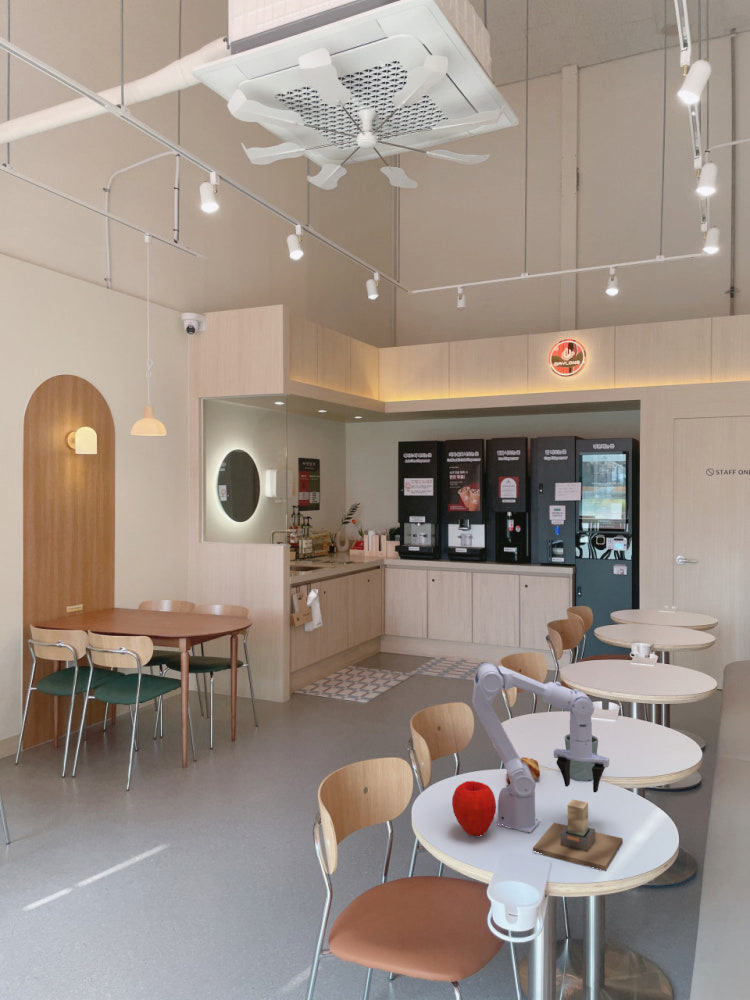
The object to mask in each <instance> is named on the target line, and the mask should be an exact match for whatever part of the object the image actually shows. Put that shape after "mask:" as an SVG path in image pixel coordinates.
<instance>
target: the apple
mask: <svg viewBox="0 0 750 1000" xmlns="http://www.w3.org/2000/svg"><path fill="white" fill-rule="evenodd" d="M451 800H452V801H451V805H452V806H451V807H452V809H453V810H452V811H453V814H454V816H455V819H456V821H457V822H458V824H459V826H460V827H461V828H462V830H463V831H464V832H465V833H466V834H467V835H469V836H471V835H473V837H478V836H479V837H481V836H480V835H482V836H484V835H485V834H486V833H487V832H488V831H489V828H490V826H491V825H492V823H493V822H494V821H493V820H494V817H495V815H496V811H497V805H496V797H495V794H494V792H493V790H492V789H491V788H490V787H489V785H487V784H485V783H483V782H479V781H473V780H470V781H469V780H468V781H465V782H462V783H460V784H459V785H457V787H456V788H455V790H454V792H453V795H452V799H451Z"/></svg>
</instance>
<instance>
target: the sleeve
mask: <svg viewBox="0 0 750 1000" xmlns="http://www.w3.org/2000/svg"><path fill="white" fill-rule="evenodd" d="M566 825H567V826H566V827H565V829H564V830H563V831H562V832H561V846H565V847H570V848H574V849H578V850H582V851H586V852H588V851H589V849H590V848H591V846H592V845H593V844H594V842H595V841H596V837H595V832H596V828H593V827H589V829H588V831H587V832H586V834H585V835H584V836H580V835H576V834H571V833H568V824H566Z"/></svg>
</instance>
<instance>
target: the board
mask: <svg viewBox="0 0 750 1000" xmlns="http://www.w3.org/2000/svg"><path fill="white" fill-rule="evenodd" d="M567 825H568V824H562V823H559V822H553V823H552V824H551V825H550V827H549V828H548V829H547V830H546V832H544V834H543V835H542V836H541V837H540V838H539V840H538V841H537V842H536V844H534V845H533V847H532V852H533V851H536V852H539V853H542V854H544V855H543V856H545V855H546V857H550V858H554V859H557V860H561V861H565V862H569V863H573V864H577V865H581V866H583V867H584V866H585V867H588V866H589V868H592V867H594V868H593V869H596V868H598V869H597V870H600V869H601V871H603V870H605V871H604V872H606V871H607V870H606V869H608V868H609V867H610V864H611V863H612V861H613V859H614V858H615V857H616V855H617V853H618V852H619V850H620V848H621V846H622V845H623V842H624V840H623V839H624V838H623V837H619V836H615V835H610V834H607V833H606V834H605V833H601V832H598V831H595V837H596V841H595V842H594V844H593V845H592V846H591V848H590V849H589V851H588V852H586V851H582V850H578V849H574V848H570V847H565V846H561V832H562V831H563V830H564V829H565V827H566V826H567ZM617 851H618V852H617Z"/></svg>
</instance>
